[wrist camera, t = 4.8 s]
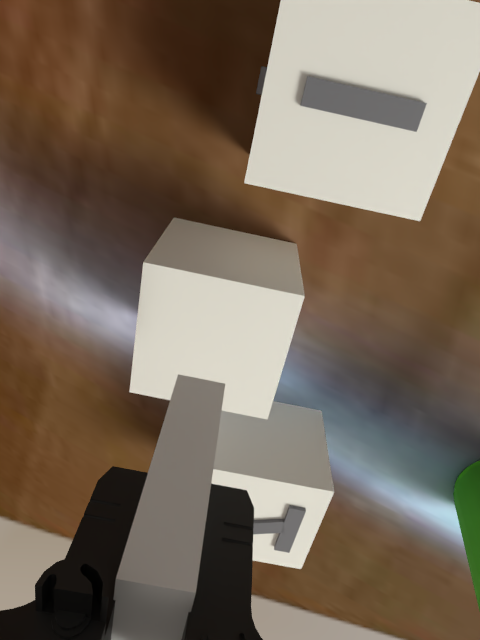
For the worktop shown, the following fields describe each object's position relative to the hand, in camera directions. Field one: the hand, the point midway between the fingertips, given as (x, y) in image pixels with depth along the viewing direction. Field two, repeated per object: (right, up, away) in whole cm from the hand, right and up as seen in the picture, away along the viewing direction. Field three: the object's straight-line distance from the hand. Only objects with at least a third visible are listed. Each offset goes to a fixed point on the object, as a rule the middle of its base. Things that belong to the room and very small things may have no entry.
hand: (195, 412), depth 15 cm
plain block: (+1, +5, +9) cm, 10 cm away
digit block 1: (+5, +12, +4) cm, 14 cm away
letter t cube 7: (+3, -4, +13) cm, 14 cm away
